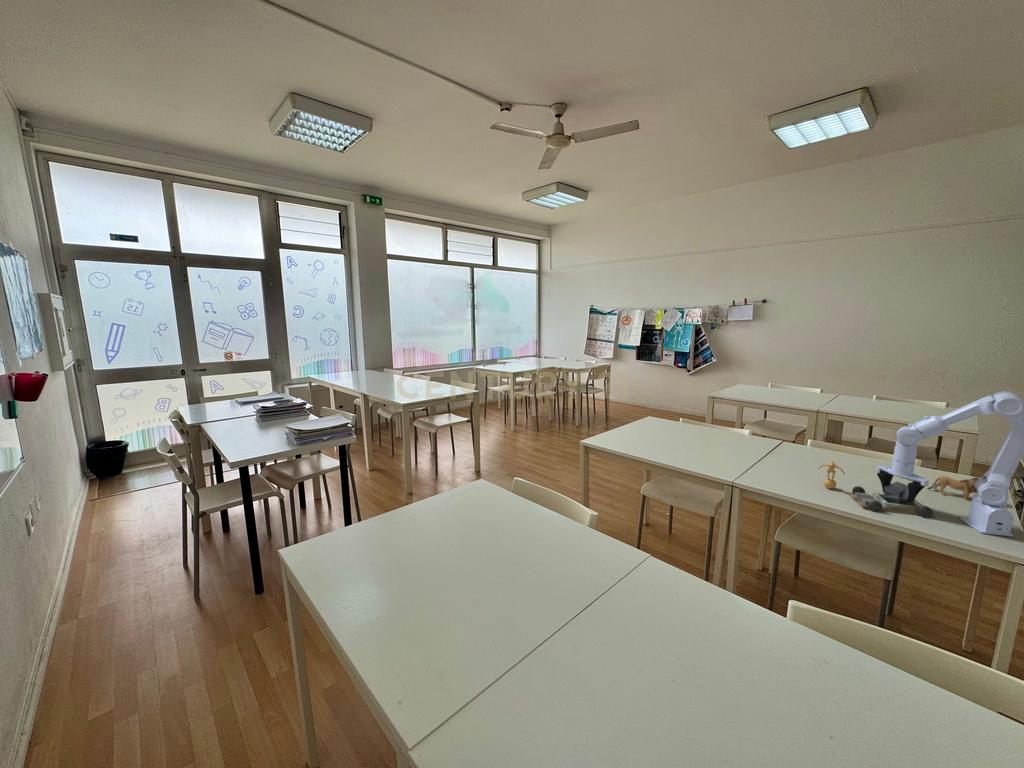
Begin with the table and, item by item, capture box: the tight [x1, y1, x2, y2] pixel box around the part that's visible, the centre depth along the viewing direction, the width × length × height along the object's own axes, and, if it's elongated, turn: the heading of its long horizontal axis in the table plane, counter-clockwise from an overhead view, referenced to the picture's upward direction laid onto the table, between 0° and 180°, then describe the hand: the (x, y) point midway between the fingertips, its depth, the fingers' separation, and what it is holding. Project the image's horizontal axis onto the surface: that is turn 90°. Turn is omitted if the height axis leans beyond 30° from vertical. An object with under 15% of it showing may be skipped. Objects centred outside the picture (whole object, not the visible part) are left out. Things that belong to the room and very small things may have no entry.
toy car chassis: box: [848, 485, 936, 518], centre depth 149 cm, size 13×20×4 cm
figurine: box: [818, 460, 845, 489], centre depth 162 cm, size 8×6×12 cm
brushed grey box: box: [883, 481, 909, 504], centre depth 148 cm, size 4×6×6 cm
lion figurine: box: [926, 475, 982, 502], centre depth 155 cm, size 15×5×9 cm, turn 45°
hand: (897, 496), depth 148 cm, fingers open, 7 cm apart
